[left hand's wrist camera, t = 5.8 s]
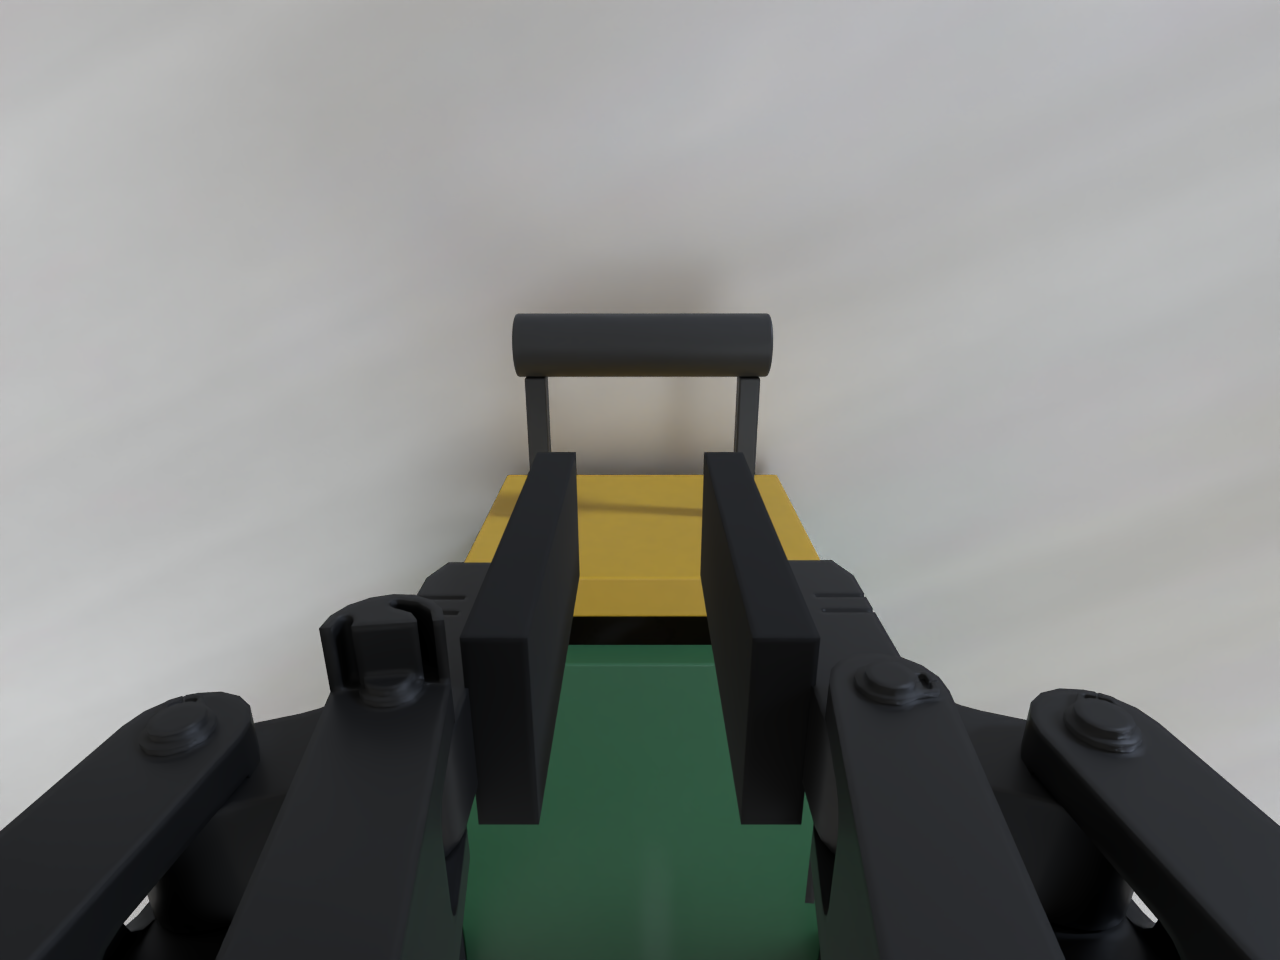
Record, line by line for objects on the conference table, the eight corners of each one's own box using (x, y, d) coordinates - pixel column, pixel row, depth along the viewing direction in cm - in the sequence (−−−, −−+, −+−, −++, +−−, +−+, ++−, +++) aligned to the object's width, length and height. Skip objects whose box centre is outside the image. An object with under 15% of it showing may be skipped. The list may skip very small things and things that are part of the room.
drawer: (495, 298, 24) (430, 338, 17) (789, 298, 24) (855, 338, 17) (528, 783, 31) (493, 960, 24) (755, 782, 31) (791, 960, 24)
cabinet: (499, 514, 28) (430, 664, 19) (785, 514, 28) (856, 663, 19) (522, 822, 33) (477, 1056, 24) (761, 822, 33) (807, 1056, 24)
